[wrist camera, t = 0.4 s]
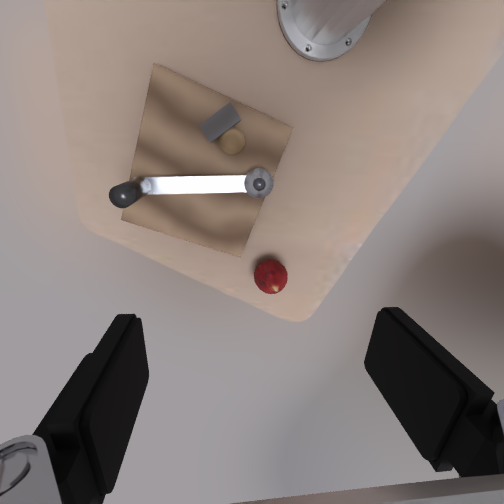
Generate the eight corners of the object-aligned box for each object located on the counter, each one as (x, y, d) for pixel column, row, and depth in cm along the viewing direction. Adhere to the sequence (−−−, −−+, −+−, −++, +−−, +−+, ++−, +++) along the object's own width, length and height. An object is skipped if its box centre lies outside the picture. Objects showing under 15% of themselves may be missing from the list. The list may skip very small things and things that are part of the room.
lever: (272, 167, 38) (285, 174, 30) (271, 196, 40) (283, 210, 32) (132, 169, 37) (104, 177, 28) (138, 199, 38) (113, 216, 30)
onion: (248, 276, 48) (252, 300, 41) (258, 249, 46) (264, 269, 39) (276, 283, 49) (285, 307, 42) (287, 257, 47) (298, 278, 40)
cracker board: (157, 67, 34) (145, 53, 29) (290, 128, 38) (299, 126, 33) (125, 216, 41) (111, 226, 36) (239, 253, 46) (241, 266, 41)
